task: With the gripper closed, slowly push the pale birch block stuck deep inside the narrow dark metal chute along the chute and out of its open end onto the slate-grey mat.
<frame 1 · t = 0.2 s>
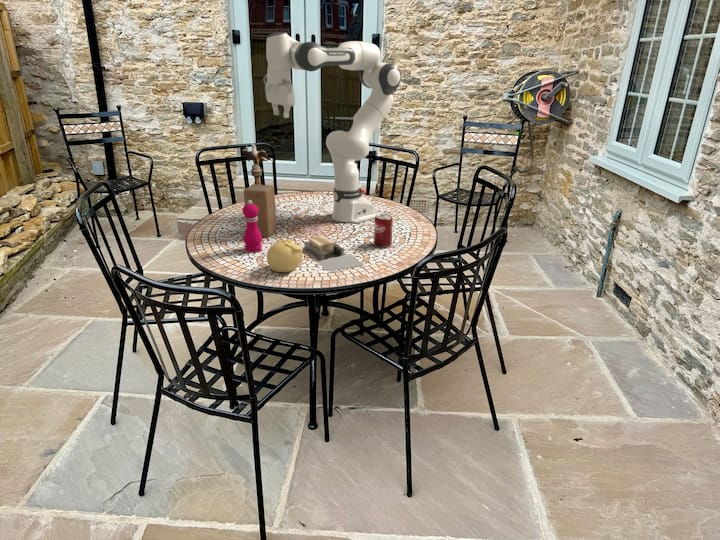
hand: (281, 116, 191), 47 cm above the table, tool pointing down, fingers open, 8 cm apart
sculpture: (285, 269, 172), on the table
pepper mill: (253, 250, 188), on the table
wooden block: (262, 233, 205), on the table
metal chute: (323, 253, 186), on the table
slate mat: (340, 264, 176), on the table
bird statue: (259, 216, 227), on the table
soda can: (382, 245, 195), on the table
birch block: (321, 249, 187), point 1 cm above the table, touching metal chute
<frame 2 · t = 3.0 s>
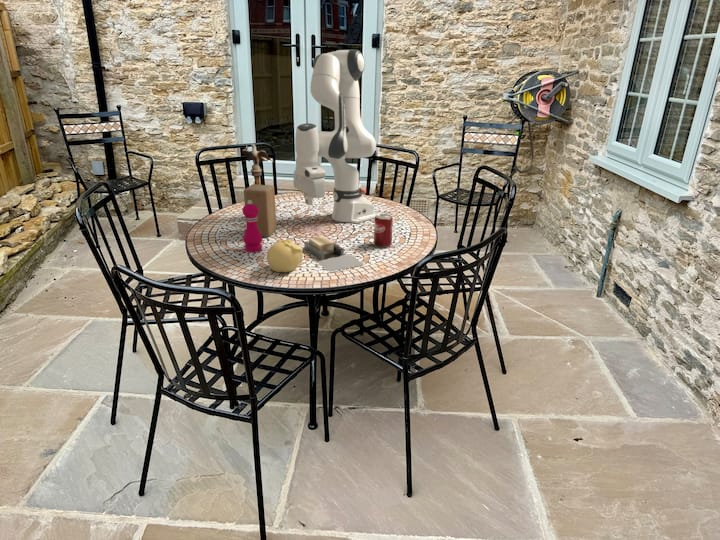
hand: (308, 204, 188), 17 cm above the table, tool pointing down, fingers closed
nothing on the table moved.
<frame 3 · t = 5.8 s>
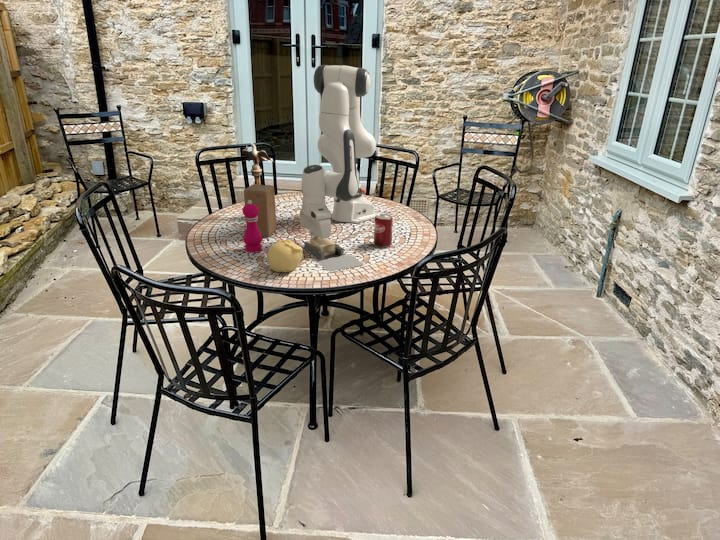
hand: (314, 242, 190), 2 cm above the table, tool pointing down, fingers closed
birch block: (322, 251, 186), point 1 cm above the table, touching gripper
everything else where it was.
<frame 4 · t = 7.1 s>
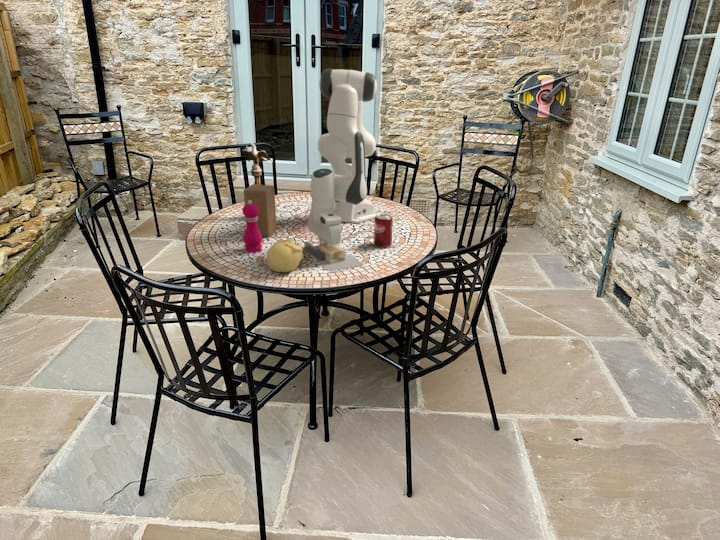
hand: (323, 248, 184), 2 cm above the table, tool pointing down, fingers closed
birch block: (332, 257, 180), point 1 cm above the table, touching gripper, slate mat
everything else where it was.
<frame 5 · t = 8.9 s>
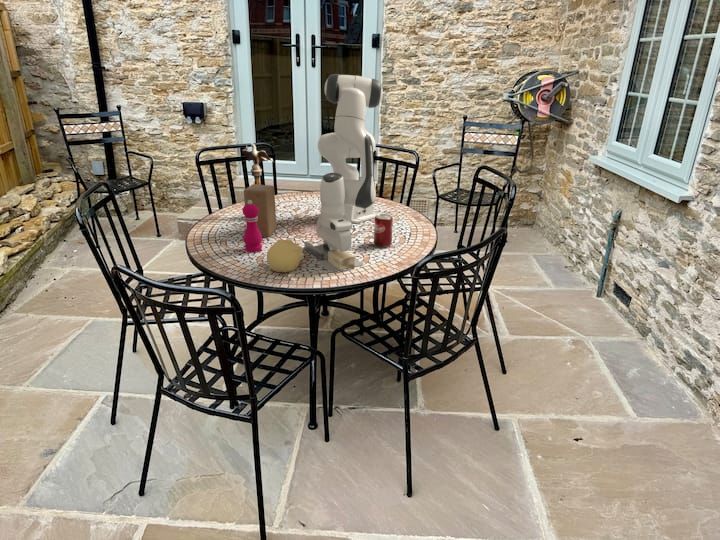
hand: (333, 254, 179), 2 cm above the table, tool pointing down, fingers closed
birch block: (341, 264, 175), point 1 cm above the table, touching gripper, slate mat
everything else where it was.
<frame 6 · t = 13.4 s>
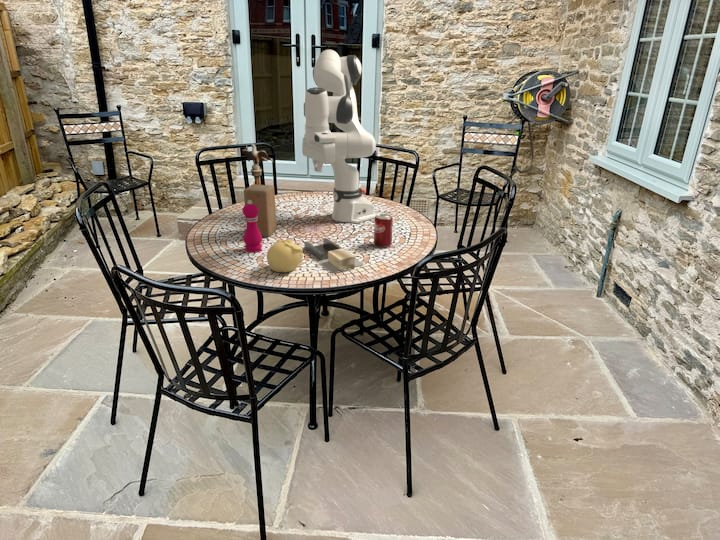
hand: (318, 171, 184), 29 cm above the table, tool pointing down, fingers closed
birch block: (341, 264, 175), point 1 cm above the table, touching slate mat
everything else where it was.
at the end: birch block inside the target area on the slate mat (0.7 cm from its centre), point 0.6 cm above the slate mat's base; birch block tilted 0°; birch block moved 15.7 cm from its start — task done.
